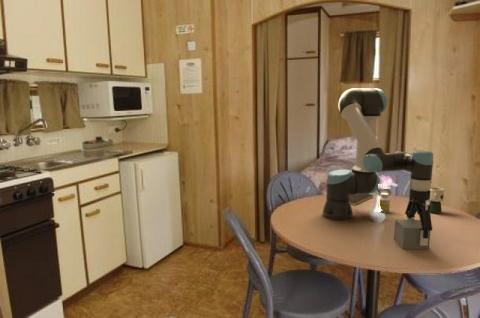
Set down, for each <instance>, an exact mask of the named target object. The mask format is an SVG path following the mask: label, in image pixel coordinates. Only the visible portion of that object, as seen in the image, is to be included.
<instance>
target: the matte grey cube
mask: <svg viewBox="0 0 480 318" xmlns="http://www.w3.org/2000/svg"><path fill="white" fill-rule="evenodd" d="M421 228H422V226H421V221H420V219H414V220H407V219H399V218H398V219H394V231H393V232H394V233H393V240H394V241H395V242H396V243H397V245H399V247H401V248H402V249H403V250H405V249H406V250H430V242H431V241H430V240H431V230H429V234H428V246H420V235H421V230H420V229H421Z"/></svg>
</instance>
